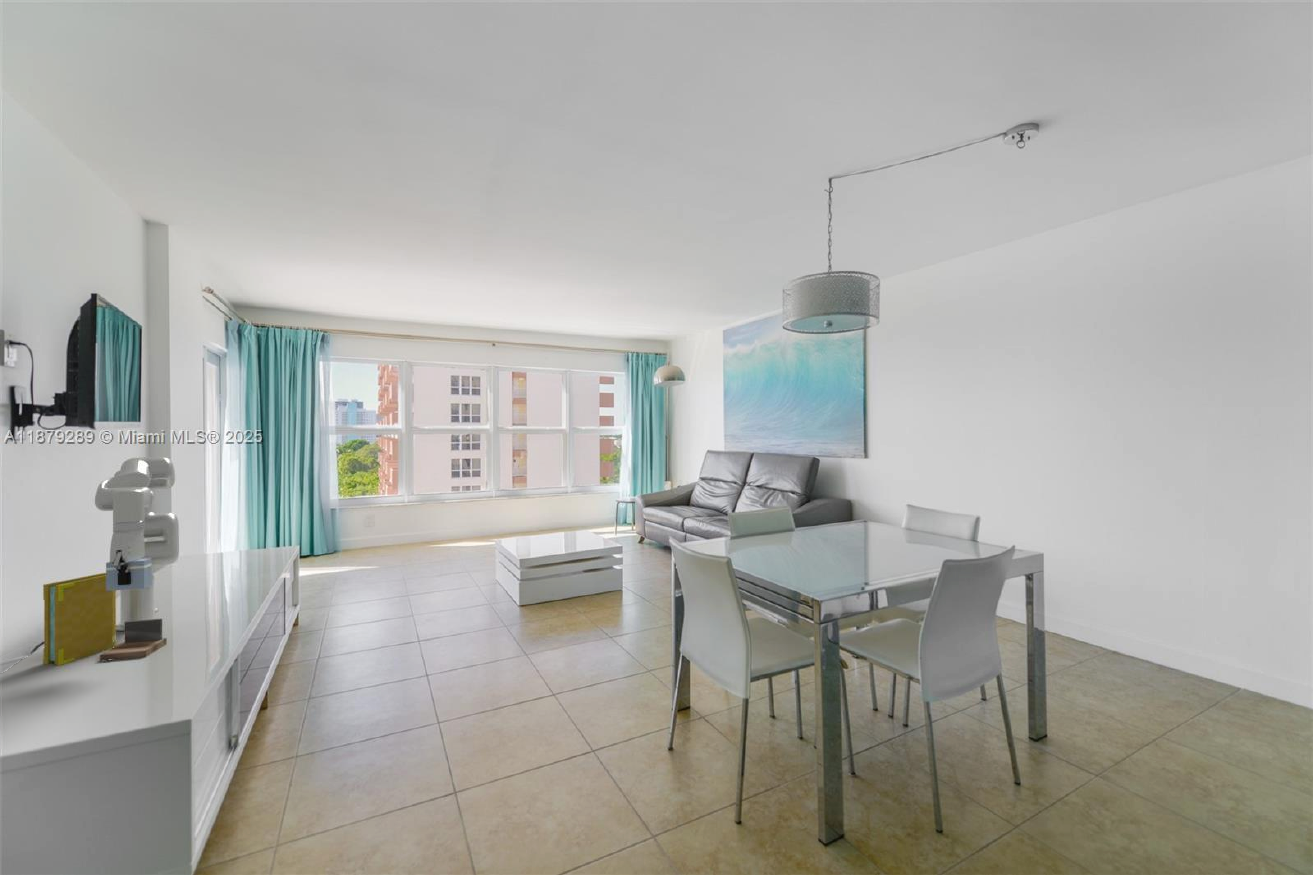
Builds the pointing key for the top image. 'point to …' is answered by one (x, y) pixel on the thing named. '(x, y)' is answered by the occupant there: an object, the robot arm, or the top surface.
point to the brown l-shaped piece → (138, 640)
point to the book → (78, 619)
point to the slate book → (138, 575)
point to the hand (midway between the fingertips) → (128, 582)
